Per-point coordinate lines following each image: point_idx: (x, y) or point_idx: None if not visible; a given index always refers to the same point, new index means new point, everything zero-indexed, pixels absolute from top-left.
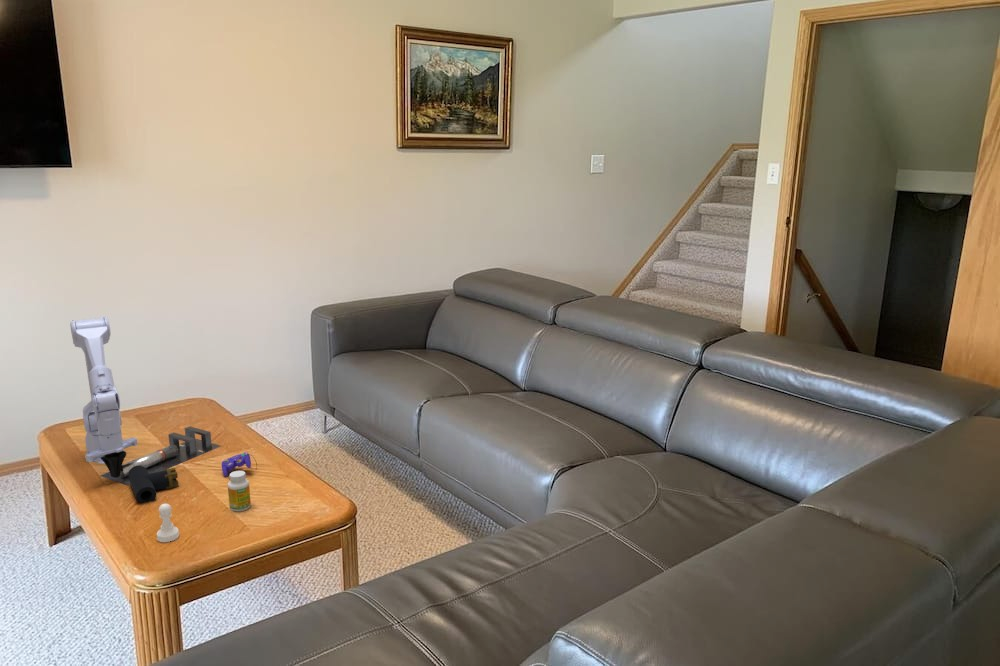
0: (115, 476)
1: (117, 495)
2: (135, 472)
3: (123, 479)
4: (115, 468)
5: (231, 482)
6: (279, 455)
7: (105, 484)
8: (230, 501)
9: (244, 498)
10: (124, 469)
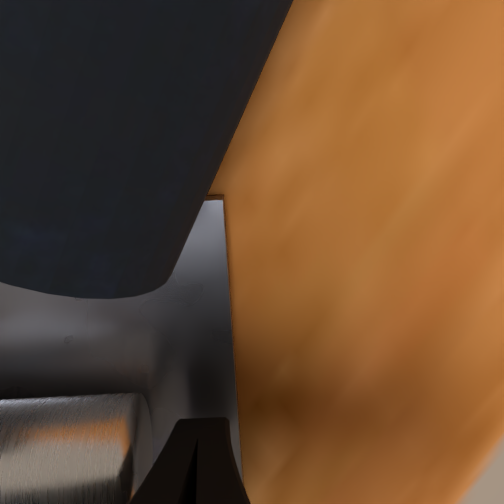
0: (229, 428)
1: (411, 104)
2: (144, 5)
3: (164, 370)
4: (224, 501)
5: None
6: None
7: (303, 424)
8: None
9: None
10: (110, 452)
